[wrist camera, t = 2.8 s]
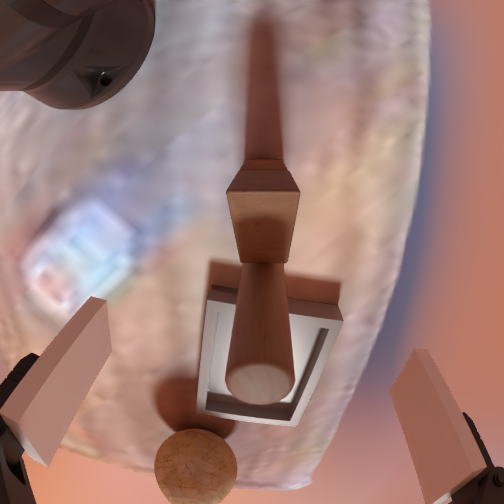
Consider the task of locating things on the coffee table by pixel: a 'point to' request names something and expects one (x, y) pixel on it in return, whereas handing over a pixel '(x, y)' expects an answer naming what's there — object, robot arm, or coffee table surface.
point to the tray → (304, 355)
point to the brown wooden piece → (262, 282)
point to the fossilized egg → (195, 467)
